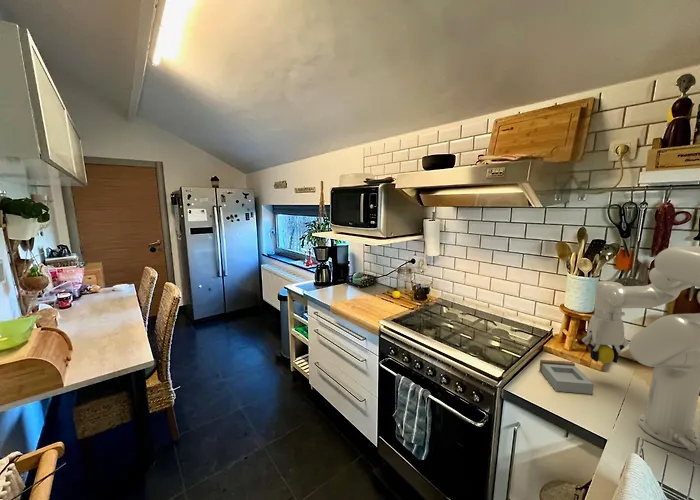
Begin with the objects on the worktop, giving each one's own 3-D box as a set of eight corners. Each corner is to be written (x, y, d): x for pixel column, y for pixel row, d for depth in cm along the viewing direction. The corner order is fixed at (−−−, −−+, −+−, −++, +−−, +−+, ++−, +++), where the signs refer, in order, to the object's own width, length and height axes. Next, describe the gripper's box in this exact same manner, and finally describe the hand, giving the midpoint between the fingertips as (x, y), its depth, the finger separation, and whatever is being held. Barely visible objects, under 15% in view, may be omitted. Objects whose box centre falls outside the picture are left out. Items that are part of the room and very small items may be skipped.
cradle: (592, 394, 106) (593, 384, 106) (556, 390, 109) (557, 381, 108) (574, 375, 118) (575, 366, 117) (541, 372, 120) (542, 363, 120)
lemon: (617, 367, 109) (619, 347, 108) (602, 367, 109) (603, 347, 108) (604, 360, 114) (606, 340, 113) (590, 360, 114) (591, 340, 113)
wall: (573, 375, 118) (575, 364, 118) (541, 372, 121) (542, 361, 120) (571, 373, 120) (572, 361, 119) (539, 370, 122) (540, 359, 121)
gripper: (626, 312, 111) (622, 357, 113) (575, 310, 114) (572, 354, 117) (642, 319, 104) (637, 367, 106) (587, 317, 107) (584, 363, 109)
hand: (603, 360), depth 111 cm, fingers closed on lemon, 5 cm apart
